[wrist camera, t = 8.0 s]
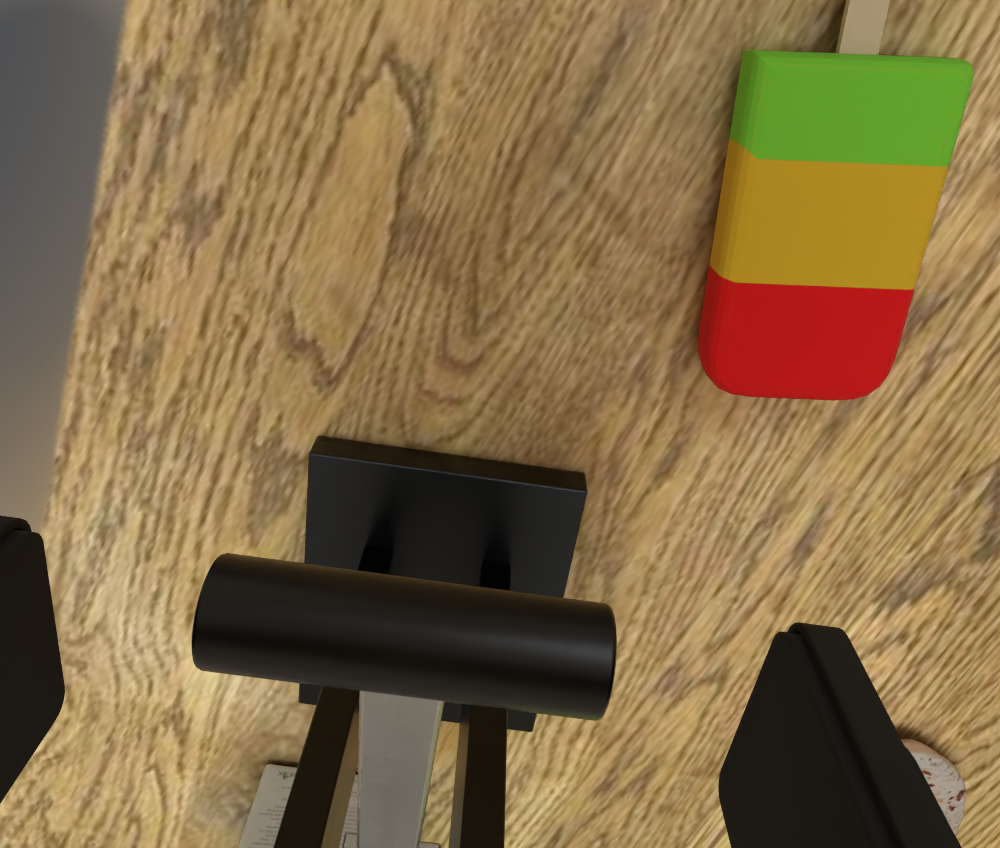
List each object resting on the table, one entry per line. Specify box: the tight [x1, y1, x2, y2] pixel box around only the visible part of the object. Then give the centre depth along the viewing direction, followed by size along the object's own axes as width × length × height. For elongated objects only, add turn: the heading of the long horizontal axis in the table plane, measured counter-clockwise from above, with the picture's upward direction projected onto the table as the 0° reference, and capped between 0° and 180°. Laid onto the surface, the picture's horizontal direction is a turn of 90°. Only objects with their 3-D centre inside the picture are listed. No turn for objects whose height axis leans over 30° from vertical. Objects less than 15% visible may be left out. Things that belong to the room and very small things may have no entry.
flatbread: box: [901, 739, 966, 834], centre depth 33 cm, size 8×8×1 cm
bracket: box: [273, 436, 587, 848], centre depth 23 cm, size 11×9×14 cm
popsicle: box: [698, 0, 974, 400], centre depth 21 cm, size 6×15×2 cm, turn 178°
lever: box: [192, 553, 617, 848], centre depth 14 cm, size 14×5×2 cm, turn 172°
